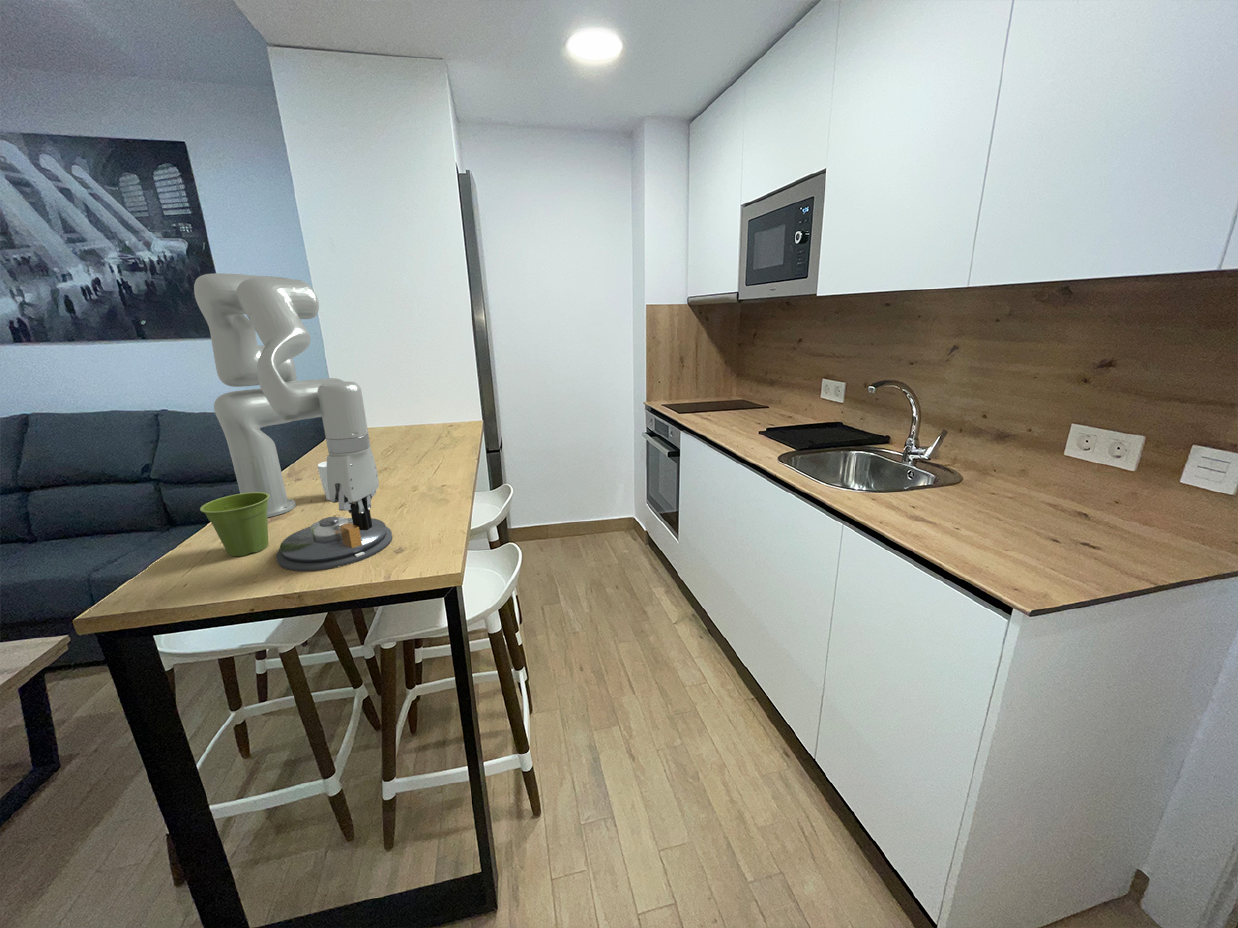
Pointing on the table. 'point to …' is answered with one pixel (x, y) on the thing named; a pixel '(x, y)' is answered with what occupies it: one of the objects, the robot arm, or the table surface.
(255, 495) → the plant pot
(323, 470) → the white cup
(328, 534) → the cover
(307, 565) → the turntable base
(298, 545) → the turntable
